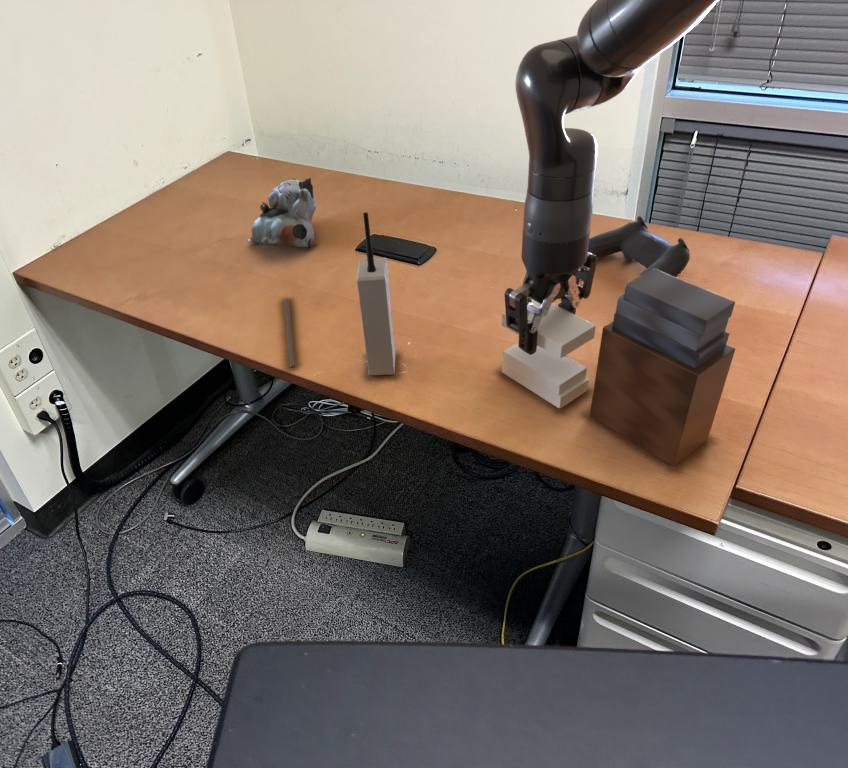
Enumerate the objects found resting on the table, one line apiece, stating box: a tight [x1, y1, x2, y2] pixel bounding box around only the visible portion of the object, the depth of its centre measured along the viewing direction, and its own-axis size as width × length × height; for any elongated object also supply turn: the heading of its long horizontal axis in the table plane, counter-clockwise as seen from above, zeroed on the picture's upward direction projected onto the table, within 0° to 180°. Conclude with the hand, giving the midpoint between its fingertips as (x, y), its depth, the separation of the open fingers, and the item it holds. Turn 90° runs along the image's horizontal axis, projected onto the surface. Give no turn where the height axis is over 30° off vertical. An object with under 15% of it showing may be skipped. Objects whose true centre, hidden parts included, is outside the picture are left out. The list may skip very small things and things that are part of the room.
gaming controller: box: [588, 215, 691, 278], centre depth 111 cm, size 17×6×10 cm
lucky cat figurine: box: [246, 177, 317, 248], centre depth 132 cm, size 15×12×14 cm
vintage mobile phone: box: [356, 212, 396, 376], centre depth 94 cm, size 4×5×25 cm
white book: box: [501, 299, 597, 358], centre depth 88 cm, size 10×6×2 cm, turn 34°
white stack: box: [501, 341, 590, 409], centre depth 93 cm, size 10×5×4 cm, turn 34°
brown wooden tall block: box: [589, 268, 736, 467], centre depth 79 cm, size 12×7×20 cm, turn 34°
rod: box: [284, 299, 296, 369], centre depth 111 cm, size 1×19×1 cm, turn 5°
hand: (546, 339), depth 90 cm, fingers closed on white book, 6 cm apart
